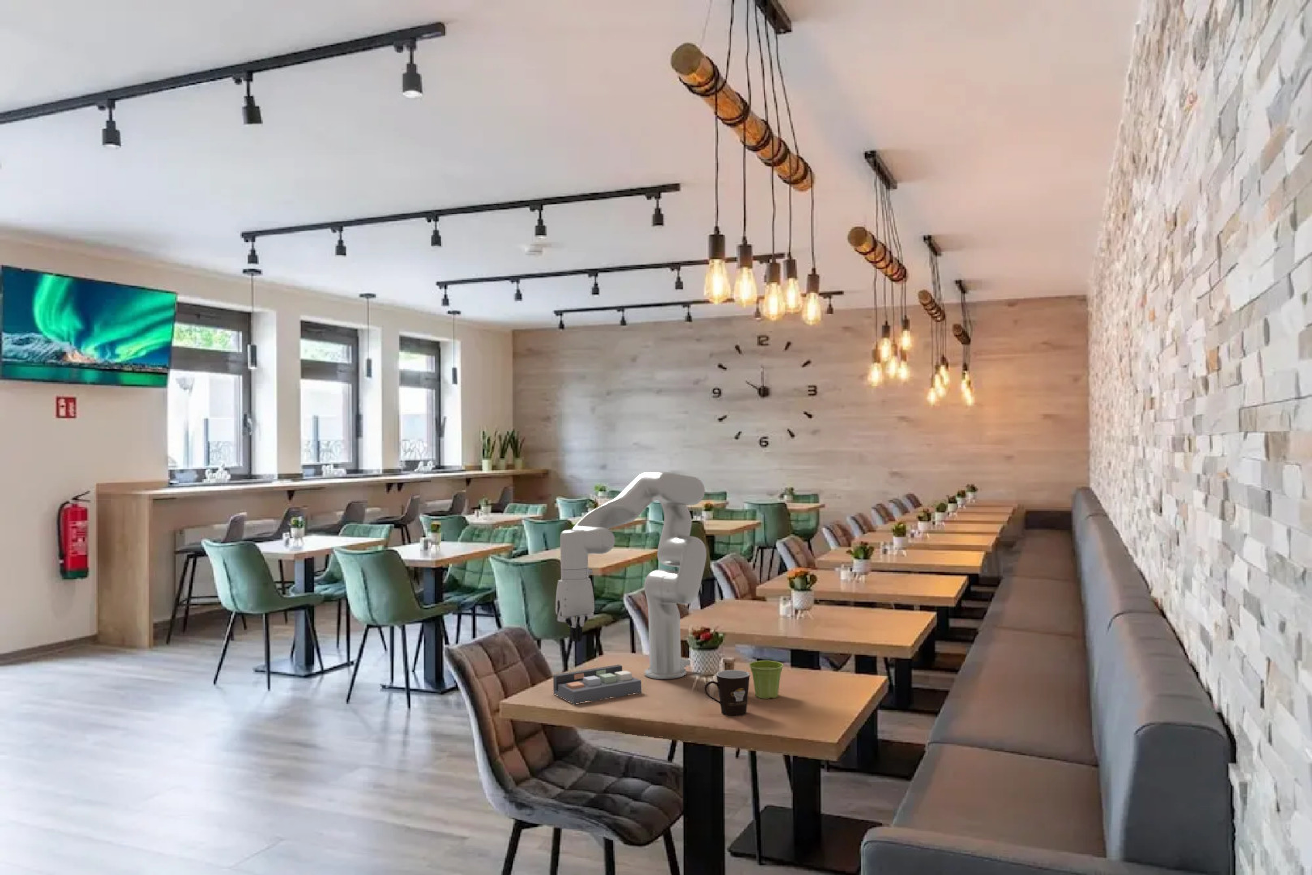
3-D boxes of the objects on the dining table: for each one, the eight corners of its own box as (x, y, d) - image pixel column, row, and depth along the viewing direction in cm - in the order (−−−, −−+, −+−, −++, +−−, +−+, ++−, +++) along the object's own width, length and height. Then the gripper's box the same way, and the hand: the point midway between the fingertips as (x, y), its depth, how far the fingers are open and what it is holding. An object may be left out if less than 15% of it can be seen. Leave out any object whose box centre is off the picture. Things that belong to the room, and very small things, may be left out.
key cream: (625, 678, 271) (625, 670, 271) (631, 681, 268) (631, 673, 268) (614, 680, 269) (614, 672, 269) (620, 683, 266) (620, 674, 266)
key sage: (610, 681, 268) (610, 673, 268) (616, 684, 265) (616, 675, 265) (599, 683, 266) (598, 674, 266) (605, 686, 263) (604, 677, 263)
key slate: (594, 684, 266) (594, 675, 266) (600, 686, 263) (600, 678, 263) (583, 686, 264) (582, 677, 264) (588, 688, 261) (588, 680, 261)
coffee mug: (750, 708, 248) (749, 670, 248) (750, 717, 239) (749, 678, 239) (706, 707, 249) (705, 669, 249) (704, 717, 240) (703, 678, 241)
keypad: (619, 683, 277) (618, 664, 277) (641, 692, 266) (641, 673, 266) (553, 694, 266) (553, 674, 266) (573, 704, 255) (573, 684, 255)
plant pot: (788, 693, 262) (787, 662, 262) (778, 702, 253) (777, 669, 253) (756, 690, 266) (755, 659, 266) (745, 698, 257) (744, 666, 257)
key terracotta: (578, 690, 263) (578, 681, 263) (584, 692, 260) (584, 684, 260) (566, 692, 261) (566, 683, 261) (572, 694, 258) (572, 686, 258)
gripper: (592, 570, 268) (594, 635, 268) (544, 575, 260) (545, 642, 260) (605, 573, 262) (606, 639, 262) (555, 578, 254) (557, 647, 254)
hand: (576, 640), depth 261 cm, fingers closed
